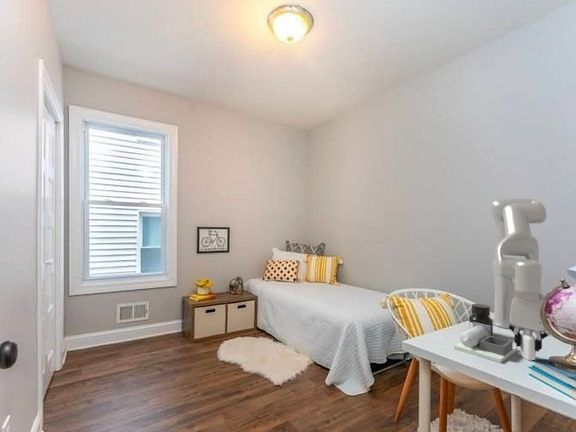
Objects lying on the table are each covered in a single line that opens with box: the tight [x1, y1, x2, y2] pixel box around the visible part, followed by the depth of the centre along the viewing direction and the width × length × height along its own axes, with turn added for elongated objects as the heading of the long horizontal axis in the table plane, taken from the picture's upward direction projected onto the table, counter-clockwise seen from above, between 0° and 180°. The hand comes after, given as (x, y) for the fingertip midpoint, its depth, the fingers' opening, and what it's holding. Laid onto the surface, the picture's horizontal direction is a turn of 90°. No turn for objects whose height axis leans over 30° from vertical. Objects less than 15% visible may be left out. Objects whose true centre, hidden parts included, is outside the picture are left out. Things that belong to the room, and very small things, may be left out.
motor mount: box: [453, 322, 518, 364], centre depth 118 cm, size 18×15×7 cm
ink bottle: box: [468, 303, 494, 336], centre depth 136 cm, size 10×9×12 cm
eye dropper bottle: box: [519, 328, 537, 362], centre depth 111 cm, size 4×6×12 cm
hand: (527, 347), depth 111 cm, fingers closed on eye dropper bottle, 4 cm apart
